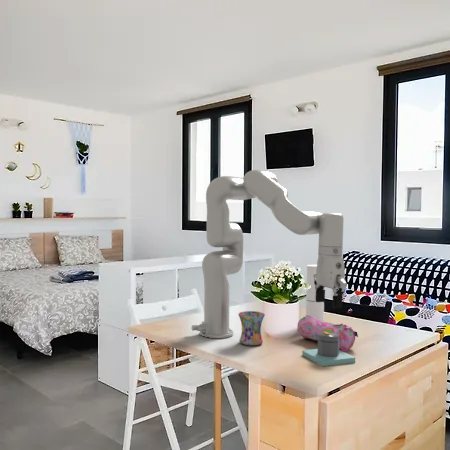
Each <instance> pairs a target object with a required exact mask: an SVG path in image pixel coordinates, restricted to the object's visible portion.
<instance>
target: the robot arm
mask: <svg viewBox="0 0 450 450" xmlns="http://www.w3.org/2000/svg"><path fill="white" fill-rule="evenodd" d="M288 197H289V193H288V190H287V189H286V188H285V187H283V186H282V185H280V184H279V180H278V178H277V177H276V175H275V174H274V173H272V172H271V171H267V170H261V169H252V170H249V171H248V172H246V173H245V175H244V176H243V177H239V176H230V175H223V176H222V175H221V176H218V177H216V178H214V179H213V180H211V182H209V184H208V185H207V187H206V193H205V202H206V242H207V244H208V245H209V246H210V247H212V248H222V250H215V251H211V252H209V253H207V254H206V255H205V256H204V257H203V259H202V261H201V262H202V263H201V267H202V274H203V281H204V283H203V285H204V289H203V290H204V291H203V293H204V298H203V299H204V302H203V303H204V305H203V306H204V311H203V318H204V319H203V321H201V323H200V324H198V325H197V324H194V325H193V324H192V325H191V331H197V332H199V335H200V336H201V335H202V336H201V337H203V336H205V337H204V338H207V337H209V338H208V339H227V338H230V337H232V336H233V335H234V331H233V329H230V294H231V293H230V283H229V280H228V277H227V276H230V275H234V274H236V273H238V272H240V271H241V269H242V268H243V267H242V266H243V263H244V234H243V230H242V227H240V225H239V224H238V223H236V222H232V221H230V209H229V205H228V203H227V201H228V200H231V201H232V200H233V201H236V200H237V201H247V200H251V199H255V198H256V199H257V200H258V201H260V202H261V203H262V204H263V205H265V206H266V207H267V208H268V209H270V210H271V213H272V214H273V216H274V217H275V220H277V221H278V222H279V223H280V224H281V225H282V226H284V228H286V229H287V230H289V231H290V232H292V233H293V234H296V235H299V236H305V235H306V236H307V235H318V246H317V247H318V249H317V250H318V253H317V254H318V257H317V262H316V265H317V270H316V274H314V275H313V277H314V284H315V289H316V302H324V303H325V300H326V290H325V288H326V289H327V288H328V289H331V290H332V293H333V295H332V305H331V308H332V309H341V308H343V296H344V295H345V292H346V288H347V287H348V286H347V285H348V283H347V282H346V277H345V275H346V274H345V271H346V270H345V269H346V268H345V261H344V257H343V249H344V247H343V246H344V245H343V244H344V215H343V214H342V213H337V212H324V213H323V212H318V211H306V210H305V211H302V210H301V209H299V208H298V207H297V206H295V205H294V204H293V203H292V202H290V200H288ZM323 289H324V290H323Z"/></svg>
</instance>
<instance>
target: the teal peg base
mask: <svg viewBox="0 0 450 450" xmlns="http://www.w3.org/2000/svg"><path fill="white" fill-rule="evenodd" d="M301 351H302V356H304V357H305V358H307V359H309V360H311V361H312V362H314V363H316V364H318V365H320V366H322V367H328V365H329V366H337V365H343V364H351V363H352V364H353V363H356V357H355V356H353V355H350V354H349V353H347V352H346V351H342V350H340V349H339V355H338V356H336V357H326V356H321V355H320V354H318V353H317V352H318V348H313V349H305V350H303V349H302V350H301Z"/></svg>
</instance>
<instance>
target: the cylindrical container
mask: <svg viewBox="0 0 450 450" xmlns="http://www.w3.org/2000/svg"><path fill="white" fill-rule="evenodd" d="M316 270H317V264H307V265H306V285H307V284H309V285H311V288H310V289H308V290H307V289H306V300H305V304H306V305H305V316H306V315H310V316H312V317H315V318H317V319H319V320H320V321H323V322H325V321H324V320H325V318H324V315H325V301H324V302H316V289H315V284H314V277H313V275H314V274H316ZM323 290H325V288H324V289H323Z"/></svg>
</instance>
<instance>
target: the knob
mask: <svg viewBox="0 0 450 450" xmlns="http://www.w3.org/2000/svg"><path fill="white" fill-rule="evenodd" d="M339 342H340V340H339V335H337V334H335V333H327V332H323V333H320V334H319V339H318V341H317V349H318V352H317V353H318V354H320V355H321V356H326V357H336V356H338V355H339V350H340V349H339Z"/></svg>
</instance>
